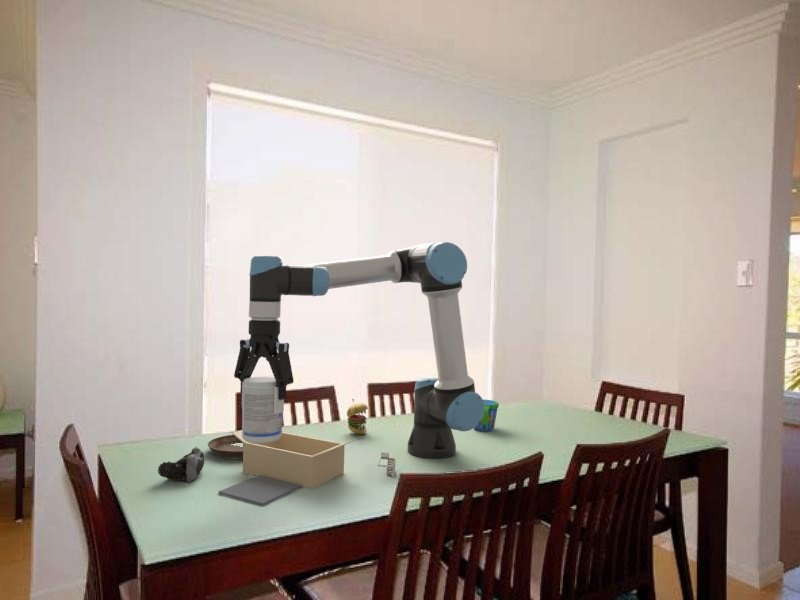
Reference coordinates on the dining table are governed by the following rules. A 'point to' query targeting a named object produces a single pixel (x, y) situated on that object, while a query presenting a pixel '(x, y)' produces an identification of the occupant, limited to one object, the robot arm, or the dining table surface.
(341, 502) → the dining table surface
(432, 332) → the robot arm
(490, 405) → the snack cup
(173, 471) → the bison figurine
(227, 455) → the plant saucer
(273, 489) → the mat
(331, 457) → the carton
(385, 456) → the staircase
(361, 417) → the hamburger
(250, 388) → the supplement tub
